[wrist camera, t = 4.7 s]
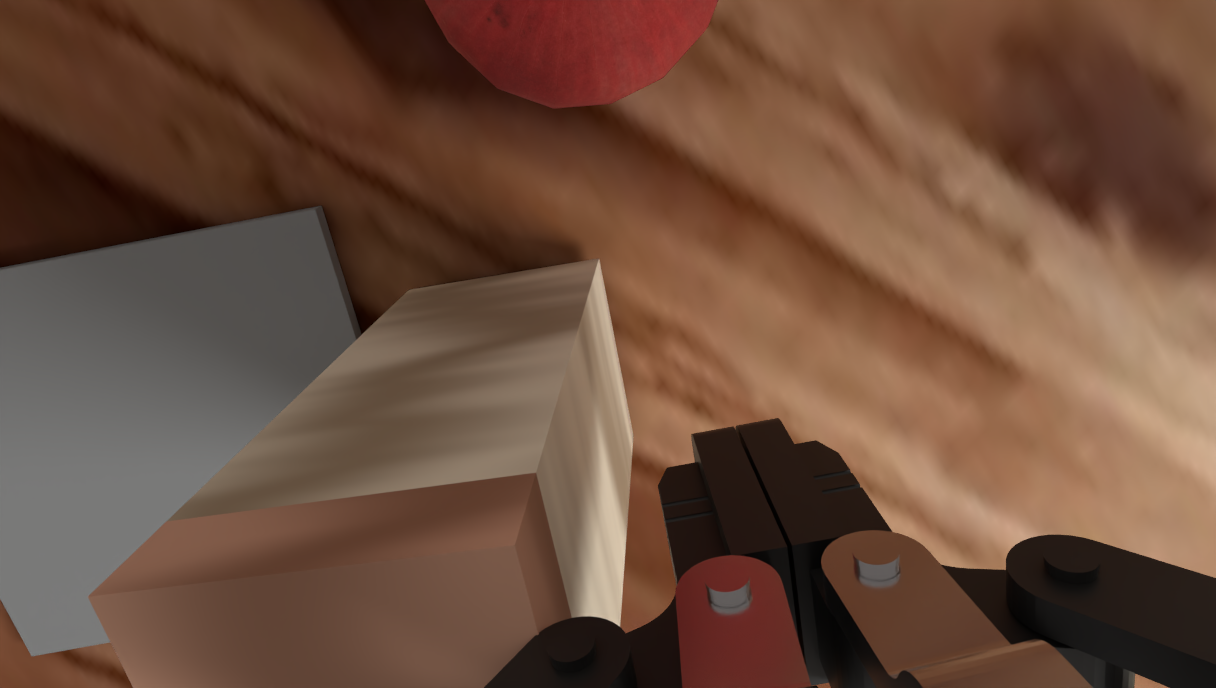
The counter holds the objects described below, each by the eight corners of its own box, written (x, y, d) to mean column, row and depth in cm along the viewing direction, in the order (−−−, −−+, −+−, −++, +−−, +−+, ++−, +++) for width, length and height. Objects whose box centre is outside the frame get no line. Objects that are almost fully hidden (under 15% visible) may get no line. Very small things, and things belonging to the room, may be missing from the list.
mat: (321, 205, 19) (315, 209, 19) (435, 573, 23) (433, 584, 22) (-146, 296, 19) (-164, 301, 19) (42, 644, 23) (31, 656, 23)
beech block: (599, 258, 19) (514, 545, 8) (633, 435, 21) (602, 873, 10) (408, 289, 20) (87, 597, 9) (456, 459, 22) (238, 897, 10)
